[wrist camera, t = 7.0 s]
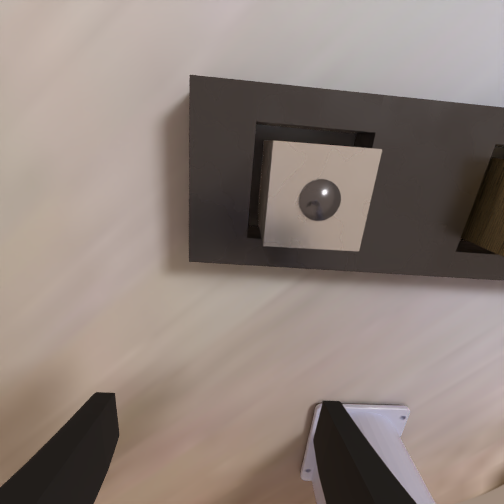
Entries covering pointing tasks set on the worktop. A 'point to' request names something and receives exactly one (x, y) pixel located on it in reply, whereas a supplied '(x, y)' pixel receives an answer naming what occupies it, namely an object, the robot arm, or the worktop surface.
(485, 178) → the yellow block with knob
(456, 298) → the worktop surface
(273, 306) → the worktop surface
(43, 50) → the worktop surface
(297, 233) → the cube with round knob
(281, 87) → the dark grey socket board
